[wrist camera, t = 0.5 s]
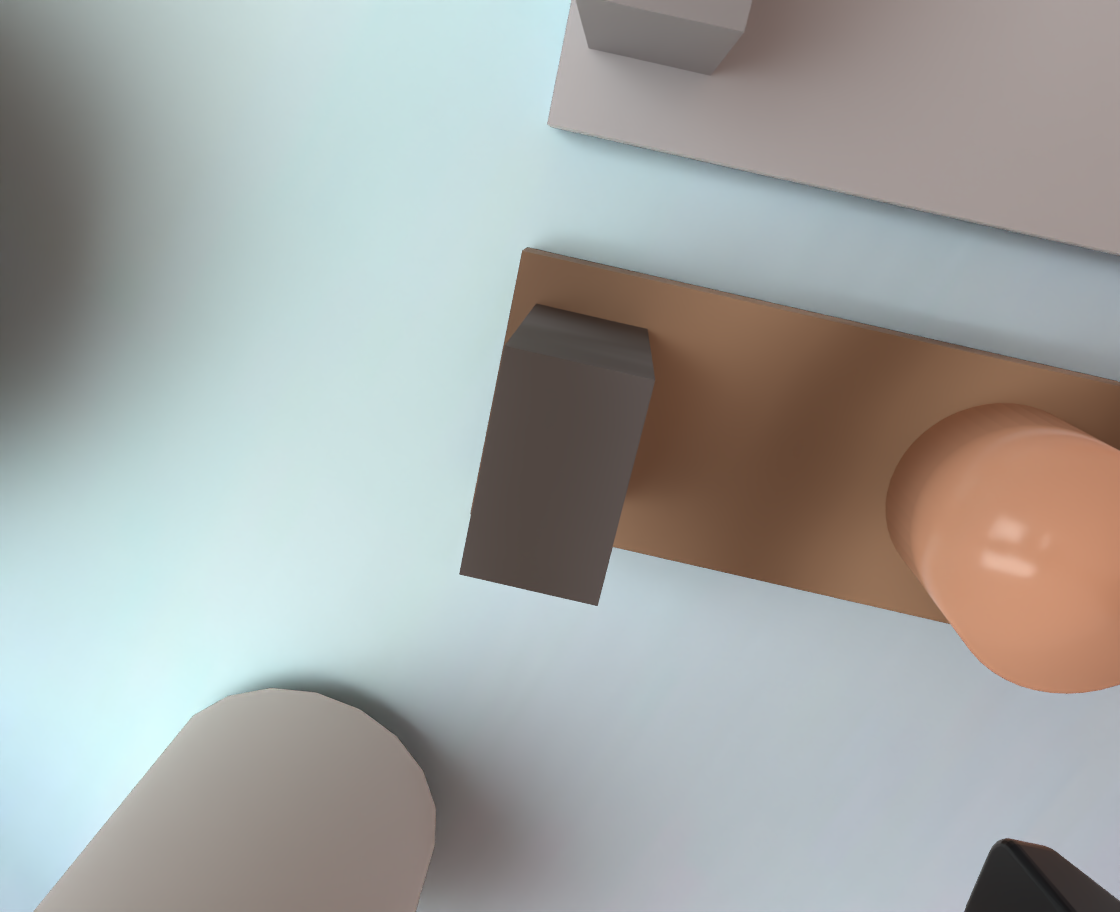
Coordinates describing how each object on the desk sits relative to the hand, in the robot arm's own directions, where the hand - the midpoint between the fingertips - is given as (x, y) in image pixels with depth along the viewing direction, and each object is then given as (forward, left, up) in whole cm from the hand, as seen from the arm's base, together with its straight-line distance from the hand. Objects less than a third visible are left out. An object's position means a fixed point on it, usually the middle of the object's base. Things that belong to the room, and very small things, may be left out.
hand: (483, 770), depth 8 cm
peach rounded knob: (-9, 0, -12) cm, 15 cm away
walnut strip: (-6, 0, -13) cm, 14 cm away
